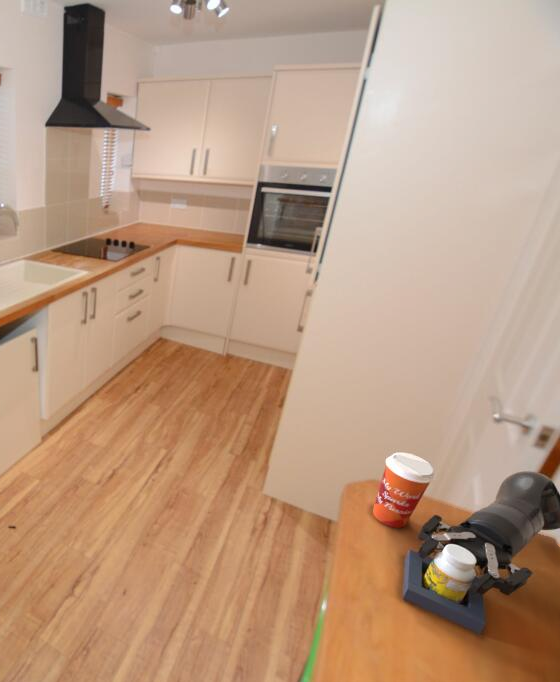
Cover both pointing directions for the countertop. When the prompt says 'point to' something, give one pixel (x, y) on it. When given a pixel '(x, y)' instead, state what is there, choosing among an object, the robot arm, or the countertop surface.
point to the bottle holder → (413, 592)
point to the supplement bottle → (450, 573)
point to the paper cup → (402, 488)
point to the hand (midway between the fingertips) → (447, 570)
